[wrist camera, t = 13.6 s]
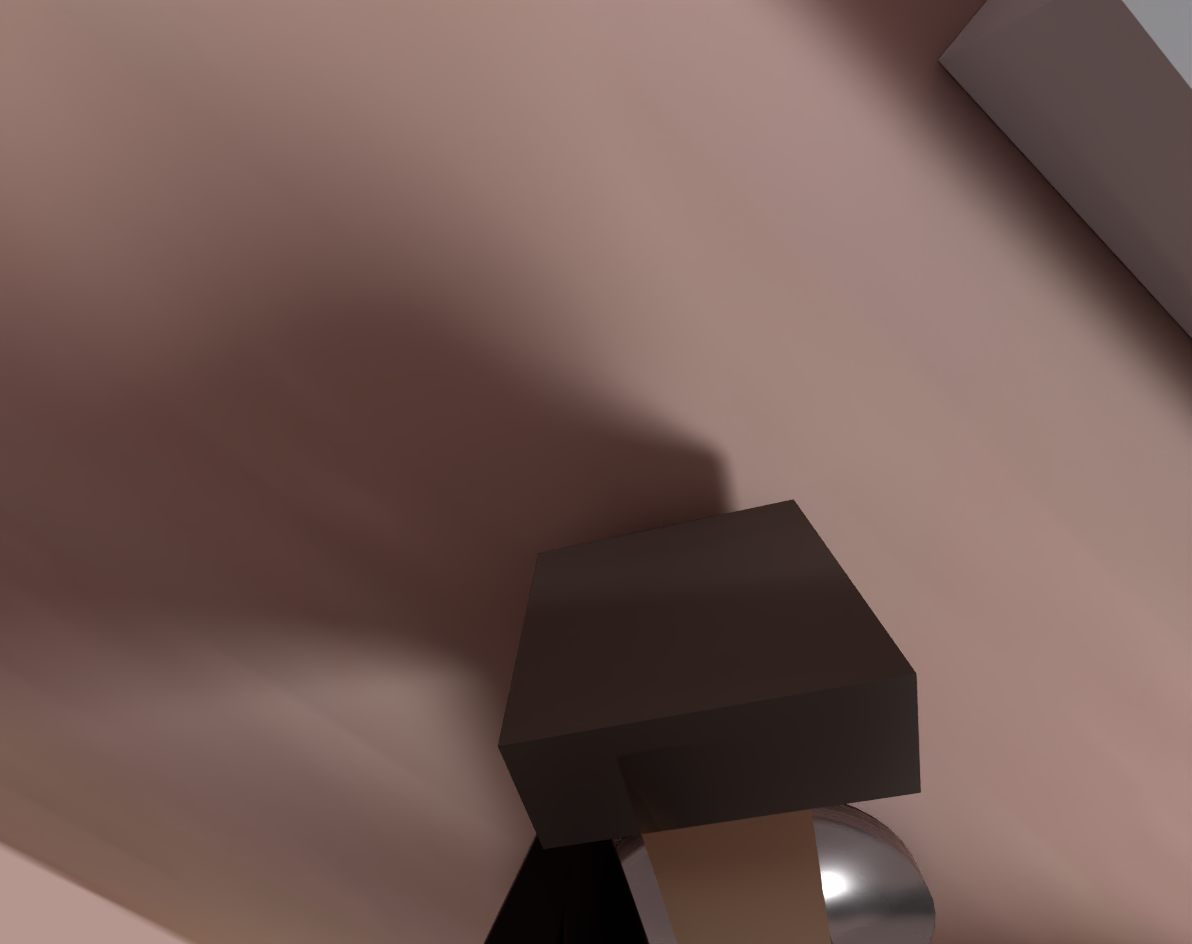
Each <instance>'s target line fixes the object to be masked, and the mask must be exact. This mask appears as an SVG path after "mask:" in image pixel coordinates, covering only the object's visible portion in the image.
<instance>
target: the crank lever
mask: <svg viewBox="0 0 1192 944" xmlns="http://www.w3.org/2000/svg"><path fill="white" fill-rule="evenodd" d="M498 747H499V750H500V752H501V754H502V757H503V759H504V761H505V763H506V766H507V768H508V770H509V772H510V775H511V777H512V779H513V781H514V784H515V786H516V788H517V791H518V793H519V795H520V797H521V800H522V802H523V804H524V806H525V809H526V811H527V813H528V815H529V818H530V820H531V822H532V825H533V827H534V829H535V831H536V834H537V836H538V838H539V840H540V843H541V845H542V847H543V849H548V848H555V847H561V846H568V845H575V844H581V843H588V842H595V841H601V840H608V839H615V838H621V837H628V836H635V835H641V834H642V837H643V840H644V843H645V846H646V849H647V852H648V855H649V858H650V861H651V864H652V867H653V870H654V874H655V877H656V880H657V883H658V886H659V889H660V892H661V895H662V898H663V901H664V904H665V907H666V910H667V913H668V916H669V919H670V922H671V925H672V928H673V931H674V934H675V937H676V940H677V943H678V944H833V943H832V939H831V936H830V932H829V925H828V919H827V912H826V905H825V898H824V892H823V885H822V878H821V872H820V865H819V858H818V851H817V845H816V838H815V831H814V825H813V818H812V811H811V809H814V808H821V807H828V806H834V805H841V804H848V803H854V802H861V801H868V800H874V799H881V798H888V797H894V796H901V795H908V794H914V793H921V787H920V759H919V732H918V704H917V677H916V672H915V671H914V669H913V668H912V667H911V665H910V664H909V662H908V661H907V660H906V658H905V657H904V655H903V654H902V652H901V651H900V650H899V648H898V647H897V645H896V644H895V643H894V641H893V640H892V638H891V637H890V635H889V634H888V633H887V631H886V630H885V628H884V627H883V626H882V624H881V623H880V621H879V620H878V618H877V617H876V616H875V614H874V613H873V611H872V610H871V609H870V607H869V606H868V604H867V603H866V601H865V600H864V599H863V597H862V596H861V594H860V593H859V591H858V590H857V589H856V587H855V586H854V584H853V583H852V582H851V580H850V579H849V577H848V576H847V574H846V573H845V572H844V570H843V569H842V567H841V566H840V565H839V563H838V562H837V560H836V559H835V557H834V556H833V555H832V553H831V552H830V550H829V549H828V548H827V546H826V545H825V543H824V542H823V540H822V539H821V538H820V536H819V535H818V533H817V532H816V530H815V529H814V528H813V526H812V525H811V523H810V522H809V521H808V519H807V518H806V516H805V515H804V513H803V512H802V511H801V509H800V508H799V506H798V505H797V504H796V502H795V501H794V499H793V500H788V501H784V502H779V503H774V504H769V505H765V506H760V507H755V508H751V509H746V510H741V511H736V512H732V513H727V514H722V515H718V516H713V517H708V518H703V519H699V520H694V521H689V522H684V523H680V524H675V525H670V526H666V527H661V528H656V529H651V530H647V531H642V532H637V533H633V534H628V535H623V536H618V537H614V538H609V539H604V540H599V541H595V542H590V543H585V544H581V545H576V546H571V547H566V548H562V549H557V550H552V551H548V552H543V553H538V558H537V562H536V567H535V572H534V577H533V581H532V586H531V591H530V596H529V600H528V605H527V610H526V615H525V619H524V624H523V629H522V634H521V638H520V643H519V648H518V653H517V658H516V662H515V667H514V672H513V677H512V681H511V686H510V691H509V696H508V700H507V705H506V710H505V715H504V719H503V724H502V729H501V734H500V738H499V743H498Z"/></svg>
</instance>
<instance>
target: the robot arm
mask: <svg viewBox="0 0 1192 944" xmlns="http://www.w3.org/2000/svg"><path fill="white" fill-rule="evenodd" d="M484 944H650V943H649V940H648V938H647V935H646V932H645V929H644V926H643V923H642V921H641V918H640V915H639V912H638V909H637V906H636V904H635V901H634V898H633V895H632V892H631V889H630V887H629V884H628V881H627V878H626V875H625V872H624V870H623V867H622V864H621V861H620V858H619V855H618V853H617V850H616V847H615V844H614V841H613V839H608V840H601V841H595V842H588V843H581V844H575V845H568V846H561V847H555V848H548V849H543V847H542V845H541V843H540V840H539V838H538V836H537V834H536V835H535V838H534V840H533V842H532V844H531V846H530V848H529V850H528V852H527V854H526V856H525V858H524V860H523V863H522V865H521V867H520V869H519V871H518V873H517V875H516V877H515V879H514V881H513V883H512V885H511V888H510V890H509V892H508V894H507V896H506V898H505V900H504V902H503V904H502V906H501V908H500V911H499V913H498V915H497V917H496V919H495V921H494V923H493V925H492V927H491V929H490V931H489V933H488V936H487V938H486V940H485V942H484Z"/></svg>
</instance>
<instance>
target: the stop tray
mask: <svg viewBox="0 0 1192 944" xmlns="http://www.w3.org/2000/svg"><path fill="white" fill-rule="evenodd" d="M938 61H939V62H940V63H941V64H942V65H943V66H944V67H945V68H946V70H947V71H948V72H949V73H950V74H951V75H952V76H953V77H954V78H955V79H956V81H957V82H958V83H959V84H960V85H961V86H962V87H963V88H964V89H965V90H966V91H967V93H968V94H969V95H970V96H971V97H972V98H973V99H974V100H975V101H976V102H977V104H978V105H979V106H980V107H981V108H982V109H983V110H984V111H985V112H986V113H987V114H988V116H989V117H990V118H991V119H992V120H993V121H994V122H995V123H996V124H997V125H998V127H999V128H1000V129H1001V130H1002V131H1003V132H1004V133H1005V134H1006V135H1007V136H1008V137H1009V139H1010V140H1011V141H1012V142H1013V143H1014V144H1015V145H1016V146H1017V147H1018V148H1019V150H1020V151H1021V152H1022V153H1023V154H1024V155H1025V156H1026V157H1027V158H1028V159H1029V160H1030V162H1031V163H1032V164H1033V165H1034V166H1035V167H1036V168H1037V169H1038V170H1039V171H1040V173H1041V174H1042V175H1043V176H1044V177H1045V178H1046V179H1047V180H1048V181H1049V182H1050V183H1051V185H1052V186H1053V187H1054V188H1055V189H1056V190H1057V191H1058V192H1059V193H1060V194H1061V196H1062V197H1063V198H1064V199H1065V200H1066V201H1067V202H1068V203H1069V204H1070V205H1071V206H1072V208H1073V209H1074V210H1075V211H1076V212H1077V213H1078V214H1079V215H1080V216H1081V217H1082V219H1083V220H1084V221H1085V222H1086V223H1087V224H1088V225H1089V226H1090V227H1091V228H1092V229H1093V231H1094V232H1095V233H1096V234H1097V235H1098V236H1099V237H1100V238H1101V239H1102V240H1103V242H1104V243H1105V244H1106V245H1107V246H1108V247H1109V248H1110V249H1111V250H1112V251H1113V252H1114V254H1115V255H1116V256H1117V257H1118V258H1119V259H1120V260H1121V261H1122V262H1123V263H1124V265H1125V266H1126V267H1127V268H1128V269H1129V270H1130V271H1131V272H1132V273H1133V274H1134V275H1135V277H1136V278H1137V279H1138V280H1139V281H1140V282H1141V283H1142V284H1143V285H1144V286H1145V288H1146V289H1147V290H1148V291H1149V292H1150V293H1151V294H1152V295H1153V296H1154V297H1155V298H1156V300H1157V301H1158V302H1159V303H1160V304H1161V305H1162V306H1163V307H1164V308H1165V309H1166V311H1167V312H1168V313H1169V314H1170V315H1171V316H1172V317H1173V318H1174V319H1175V320H1176V321H1177V323H1178V324H1179V325H1180V326H1181V327H1182V328H1183V329H1184V330H1185V331H1186V332H1187V334H1188V335H1189V336H1190V337H1191V338H1192V0H987V1H986V2H985V3H984V5H983V6H982V7H981V8H980V9H979V11H978V12H977V13H976V14H975V16H974V17H973V18H972V19H971V20H970V22H969V23H968V24H967V25H966V26H965V28H964V29H963V30H962V31H961V33H960V34H959V35H958V36H957V37H956V39H955V40H954V41H953V42H952V43H951V45H950V46H949V47H948V48H947V50H946V51H945V52H944V53H943V54H942V56H941V57H940V58H939V59H938Z"/></svg>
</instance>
